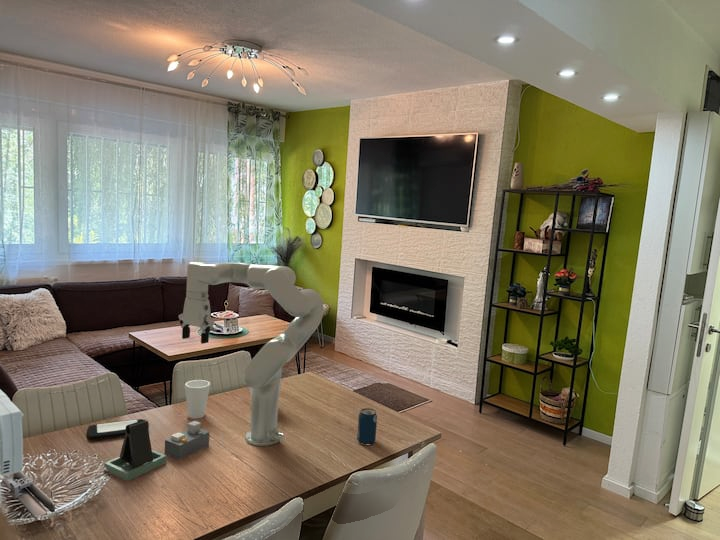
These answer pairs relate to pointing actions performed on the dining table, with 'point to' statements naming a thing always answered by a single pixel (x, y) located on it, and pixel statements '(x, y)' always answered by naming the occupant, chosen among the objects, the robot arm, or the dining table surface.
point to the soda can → (367, 426)
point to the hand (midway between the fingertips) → (195, 340)
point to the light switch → (109, 429)
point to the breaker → (194, 427)
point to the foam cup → (197, 397)
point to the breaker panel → (187, 444)
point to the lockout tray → (130, 472)
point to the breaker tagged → (177, 437)
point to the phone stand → (137, 444)
